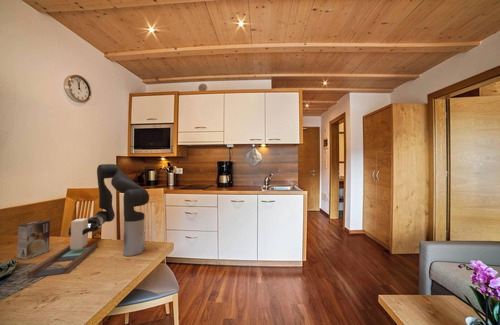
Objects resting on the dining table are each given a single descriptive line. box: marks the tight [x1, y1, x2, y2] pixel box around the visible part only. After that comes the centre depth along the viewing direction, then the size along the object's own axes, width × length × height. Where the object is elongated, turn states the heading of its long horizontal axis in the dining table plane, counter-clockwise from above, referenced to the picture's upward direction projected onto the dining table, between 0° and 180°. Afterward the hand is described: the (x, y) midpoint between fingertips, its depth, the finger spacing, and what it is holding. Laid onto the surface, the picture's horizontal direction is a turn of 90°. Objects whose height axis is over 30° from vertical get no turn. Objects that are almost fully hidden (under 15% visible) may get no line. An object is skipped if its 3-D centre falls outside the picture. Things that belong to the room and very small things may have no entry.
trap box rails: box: [26, 242, 99, 279], centre depth 91 cm, size 13×27×2 cm, turn 17°
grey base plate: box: [33, 256, 78, 278], centre depth 86 cm, size 10×17×1 cm, turn 17°
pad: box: [62, 246, 90, 257], centre depth 99 cm, size 10×10×1 cm
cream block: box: [69, 217, 89, 249], centre depth 100 cm, size 5×5×14 cm
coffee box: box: [16, 219, 51, 260], centre depth 96 cm, size 9×6×16 cm
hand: (76, 233), depth 97 cm, fingers closed on cream block, 5 cm apart
